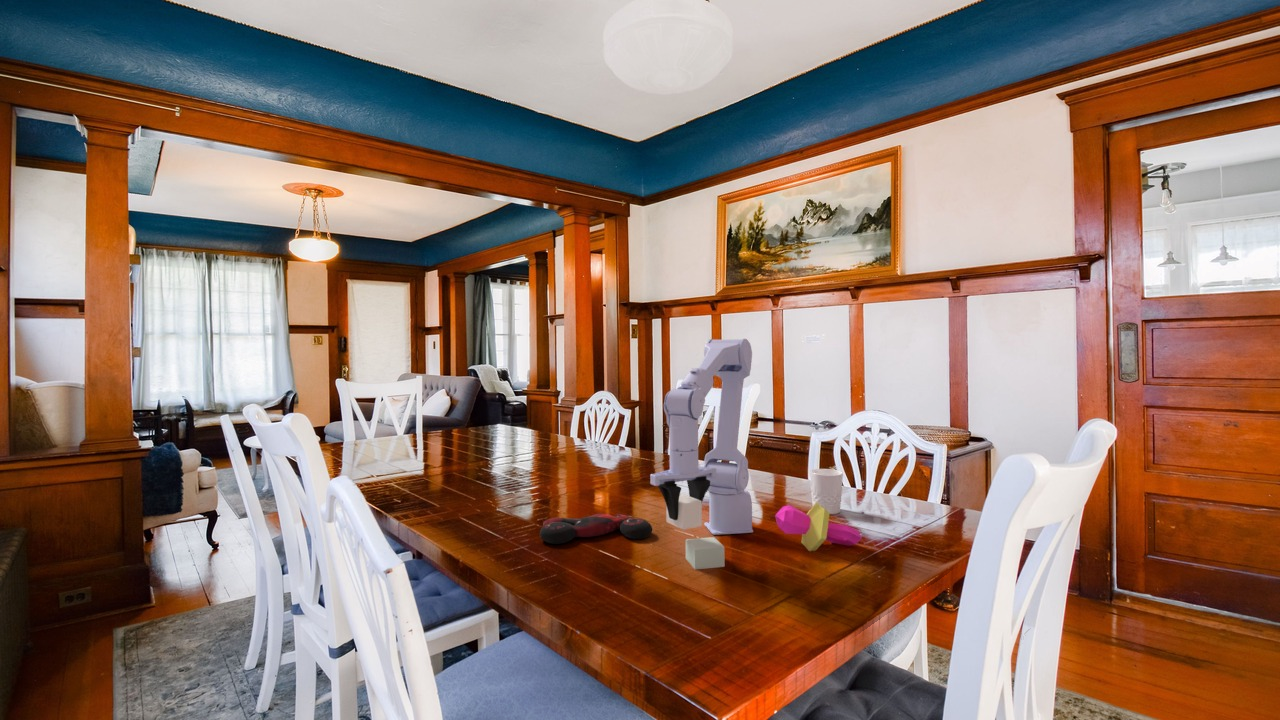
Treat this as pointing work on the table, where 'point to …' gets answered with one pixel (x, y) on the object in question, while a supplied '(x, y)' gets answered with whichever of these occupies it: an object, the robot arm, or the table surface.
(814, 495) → the white cup
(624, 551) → the table surface
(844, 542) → the toy
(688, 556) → the sage base brick
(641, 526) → the toy motorcycle
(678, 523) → the cream brick
